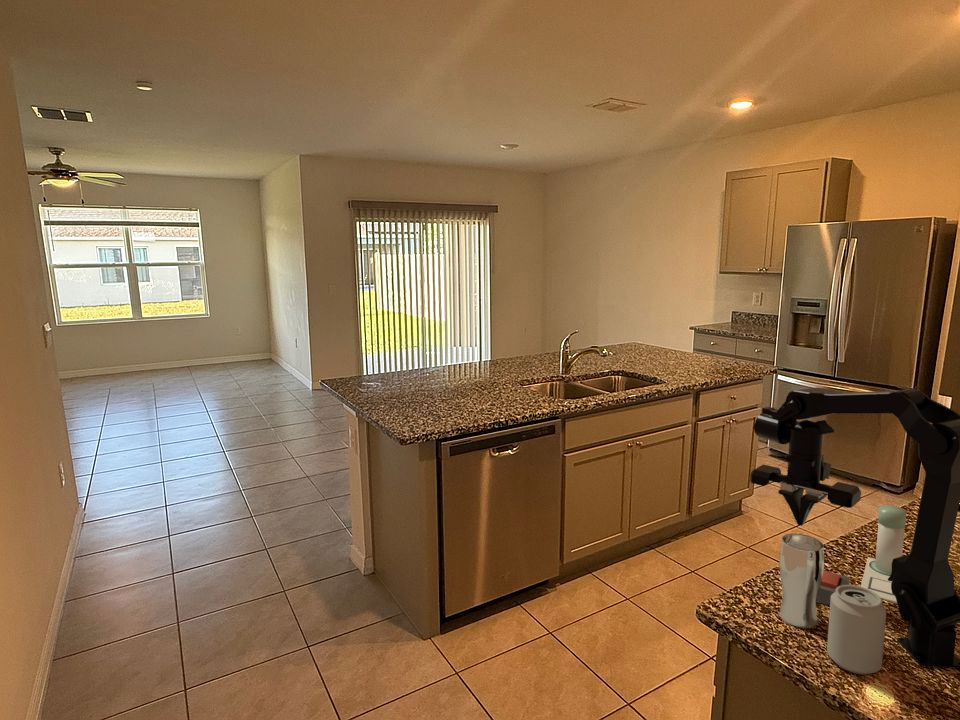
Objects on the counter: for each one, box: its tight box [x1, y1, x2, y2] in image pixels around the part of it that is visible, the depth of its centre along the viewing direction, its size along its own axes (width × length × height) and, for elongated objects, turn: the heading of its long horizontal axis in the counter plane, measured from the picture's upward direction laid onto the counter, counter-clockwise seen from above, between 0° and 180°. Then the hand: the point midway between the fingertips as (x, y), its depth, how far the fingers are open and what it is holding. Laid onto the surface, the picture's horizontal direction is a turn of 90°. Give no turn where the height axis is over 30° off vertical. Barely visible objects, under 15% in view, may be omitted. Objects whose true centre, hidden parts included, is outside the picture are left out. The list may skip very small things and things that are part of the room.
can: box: [826, 584, 887, 675], centre depth 91 cm, size 8×8×12 cm
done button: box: [821, 570, 841, 589], centre depth 111 cm, size 4×4×3 cm
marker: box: [875, 504, 907, 573], centre depth 118 cm, size 5×5×13 cm
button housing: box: [816, 570, 851, 607], centre depth 111 cm, size 8×8×3 cm
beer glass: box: [778, 533, 825, 629], centre depth 103 cm, size 7×7×15 cm
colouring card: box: [860, 556, 897, 604], centre depth 115 cm, size 17×8×1 cm, turn 141°
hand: (800, 524), depth 115 cm, fingers closed
